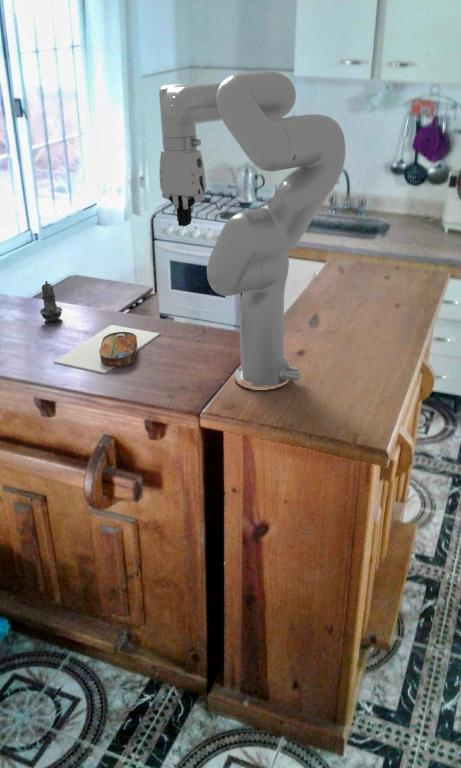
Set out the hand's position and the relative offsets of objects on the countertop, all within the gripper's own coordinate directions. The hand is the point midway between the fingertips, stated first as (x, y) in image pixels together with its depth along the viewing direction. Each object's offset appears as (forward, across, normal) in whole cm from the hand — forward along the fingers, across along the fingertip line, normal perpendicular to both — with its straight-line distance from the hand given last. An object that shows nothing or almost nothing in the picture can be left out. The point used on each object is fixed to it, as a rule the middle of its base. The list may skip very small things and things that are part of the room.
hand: (184, 224), depth 168 cm
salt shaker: (+29, +40, +6) cm, 50 cm away
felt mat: (+29, +16, +14) cm, 36 cm away
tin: (+28, +7, +14) cm, 32 cm away
